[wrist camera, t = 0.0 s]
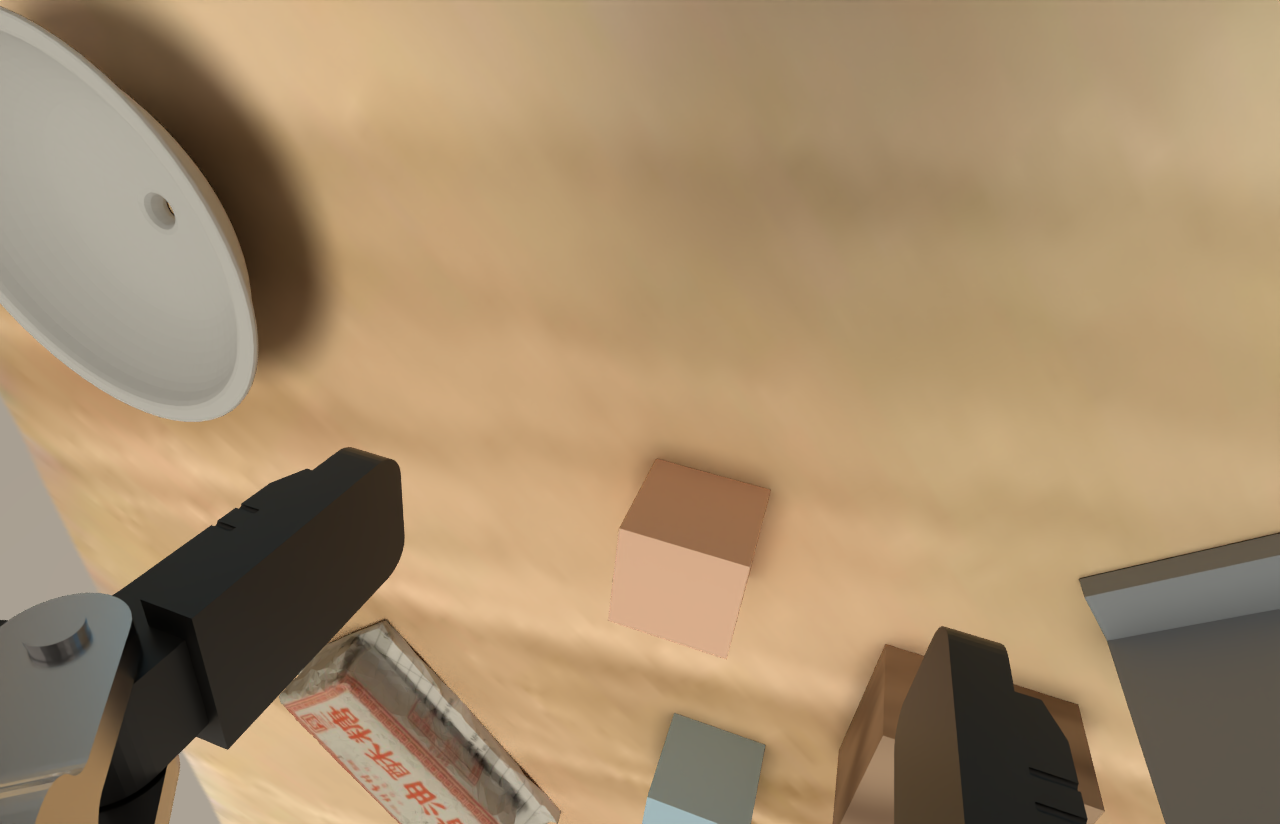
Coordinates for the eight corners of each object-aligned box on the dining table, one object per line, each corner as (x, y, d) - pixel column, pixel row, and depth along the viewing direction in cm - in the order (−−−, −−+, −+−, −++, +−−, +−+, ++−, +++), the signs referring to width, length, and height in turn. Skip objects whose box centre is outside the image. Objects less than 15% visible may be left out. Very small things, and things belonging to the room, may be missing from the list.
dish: (399, 275, 30) (320, 318, 26) (250, 422, 38) (170, 474, 34) (75, -104, 26) (-77, -123, 22) (-18, 144, 34) (-145, 163, 30)
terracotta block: (656, 457, 31) (619, 528, 27) (771, 488, 30) (749, 567, 26) (644, 544, 33) (608, 620, 29) (748, 575, 32) (726, 659, 28)
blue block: (674, 711, 38) (647, 796, 34) (765, 743, 37) (748, 835, 33) (663, 765, 41) (636, 850, 37) (747, 796, 40) (730, 887, 36)
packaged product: (249, 707, 44) (338, 673, 39) (303, 648, 48) (390, 611, 43) (434, 889, 48) (536, 881, 43) (470, 821, 52) (567, 806, 47)
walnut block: (885, 640, 32) (883, 735, 28) (1077, 700, 30) (1104, 811, 26) (839, 746, 36) (831, 843, 32) (1005, 804, 34) (1019, 914, 30)
